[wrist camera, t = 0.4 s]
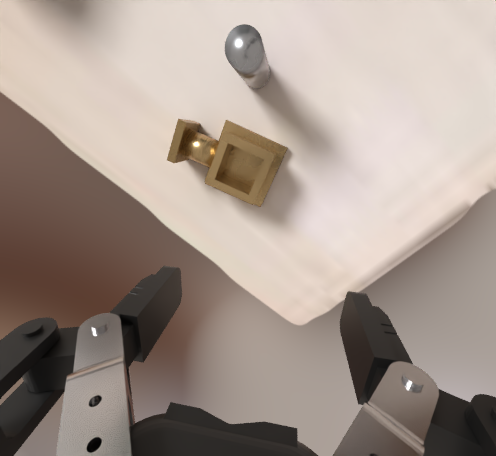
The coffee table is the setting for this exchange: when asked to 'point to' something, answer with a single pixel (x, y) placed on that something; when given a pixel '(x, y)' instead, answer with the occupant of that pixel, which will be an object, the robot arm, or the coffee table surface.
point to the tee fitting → (230, 158)
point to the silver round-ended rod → (248, 55)
